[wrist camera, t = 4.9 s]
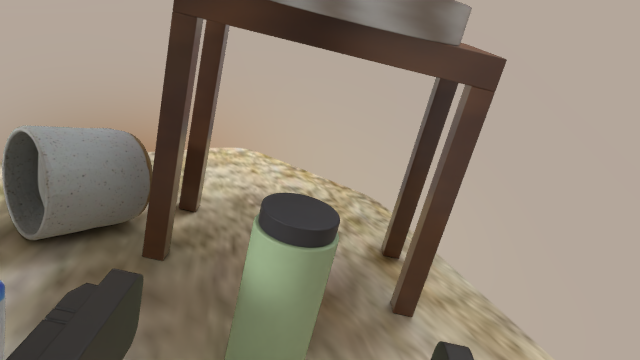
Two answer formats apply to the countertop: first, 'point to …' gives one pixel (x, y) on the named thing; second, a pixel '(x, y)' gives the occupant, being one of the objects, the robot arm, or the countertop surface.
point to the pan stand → (347, 38)
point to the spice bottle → (283, 278)
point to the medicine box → (2, 319)
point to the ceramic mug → (73, 179)
